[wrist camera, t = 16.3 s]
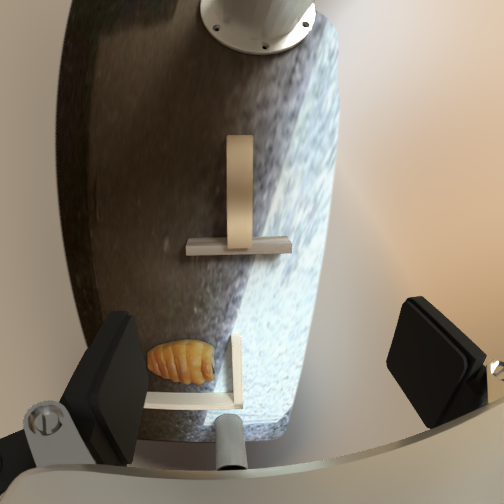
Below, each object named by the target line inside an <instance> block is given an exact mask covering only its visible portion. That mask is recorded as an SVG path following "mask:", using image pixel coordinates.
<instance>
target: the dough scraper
mask: <svg viewBox="0 0 504 504" xmlns="http://www.w3.org/2000/svg"><path fill="white" fill-rule="evenodd" d="M252 201H253V135H227V237H213V238H188V241H187V244H186V256H189V255H235V254H279V253H292V243H291V242H290V240H289V239H288V237H287V236H264V237H252Z"/></svg>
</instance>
